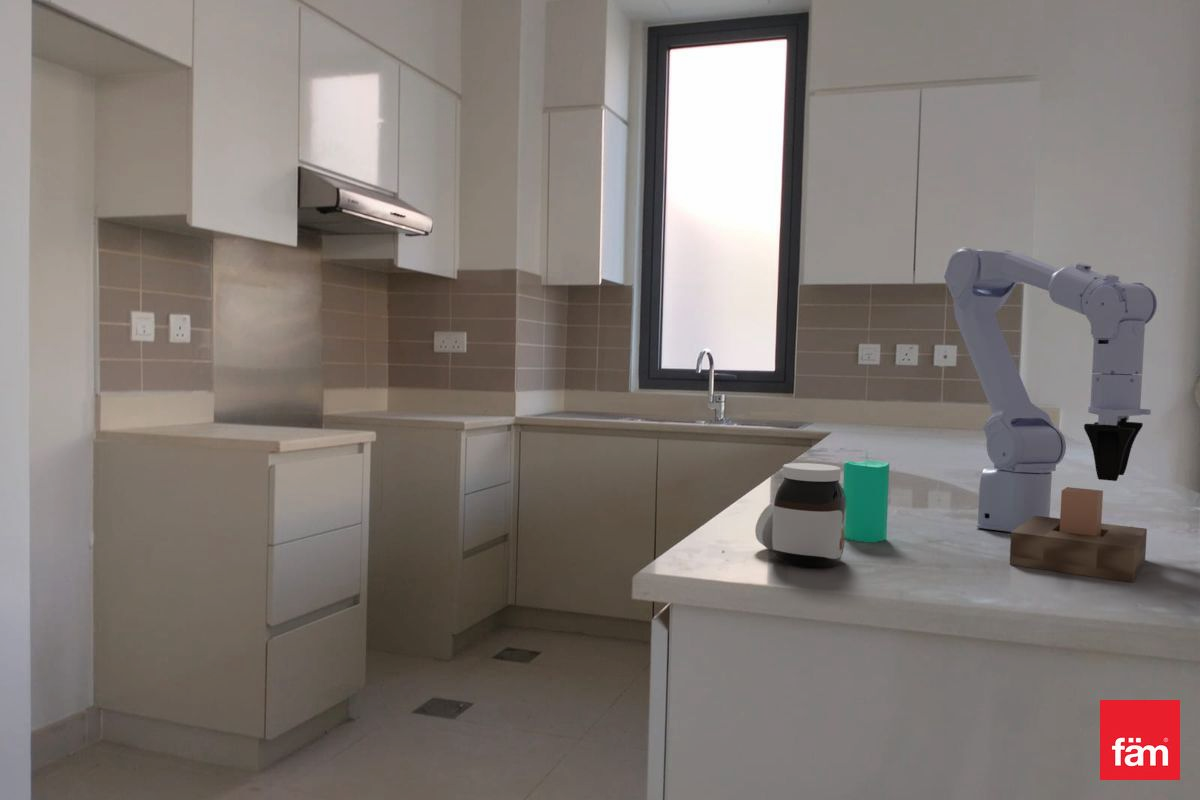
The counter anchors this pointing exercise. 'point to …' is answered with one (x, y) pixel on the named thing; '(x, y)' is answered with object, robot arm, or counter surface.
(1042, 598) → the counter surface
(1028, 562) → the socket block
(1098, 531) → the peg
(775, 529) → the spread jar
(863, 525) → the candle
